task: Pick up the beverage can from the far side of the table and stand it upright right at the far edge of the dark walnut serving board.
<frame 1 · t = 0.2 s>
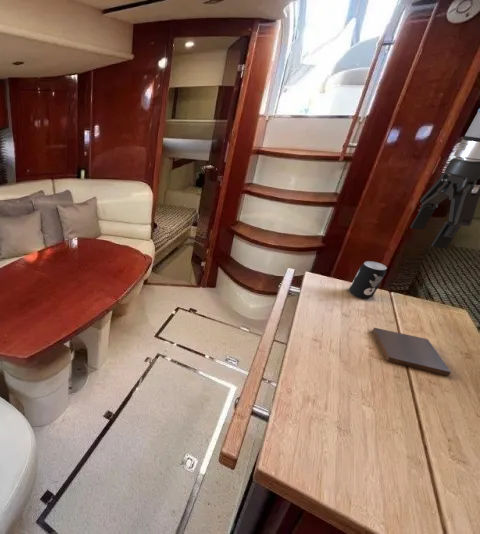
hand: (426, 237, 86), 27 cm above the table, tool pointing down, fingers open, 13 cm apart
walnut board: (406, 351, 84), on the table
beverage can: (359, 294, 108), on the table
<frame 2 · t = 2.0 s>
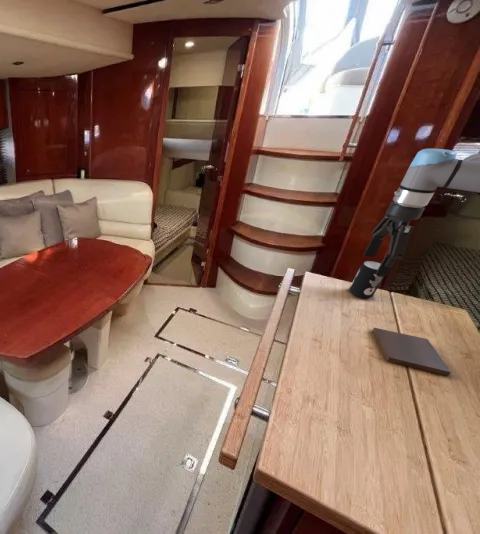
hand: (374, 264, 102), 12 cm above the table, tool pointing down, fingers open, 13 cm apart
nothing on the table moved.
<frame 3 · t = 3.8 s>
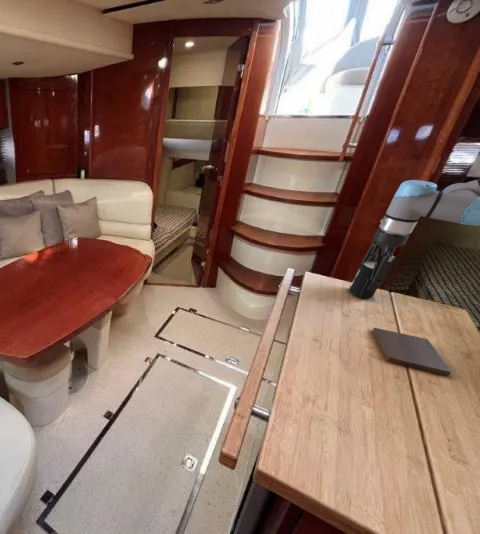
hand: (361, 291, 107), 1 cm above the table, tool pointing down, fingers closed on beverage can, 6 cm apart
beverage can: (359, 294, 108), on the table, touching gripper
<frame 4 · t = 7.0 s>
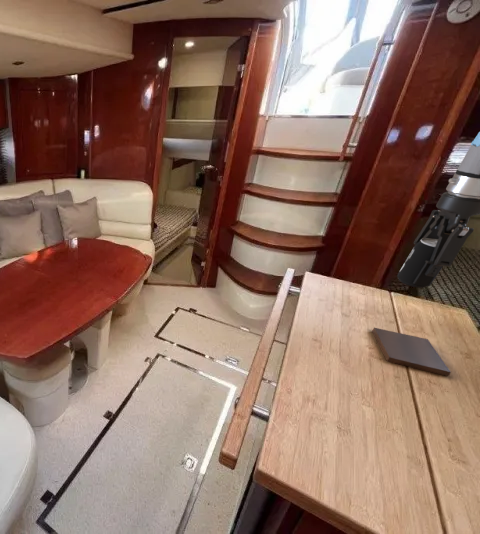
hand: (415, 277, 82), 19 cm above the table, tool pointing down, fingers closed on beverage can, 6 cm apart
beverage can: (411, 282, 83), point 17 cm above the table, touching gripper
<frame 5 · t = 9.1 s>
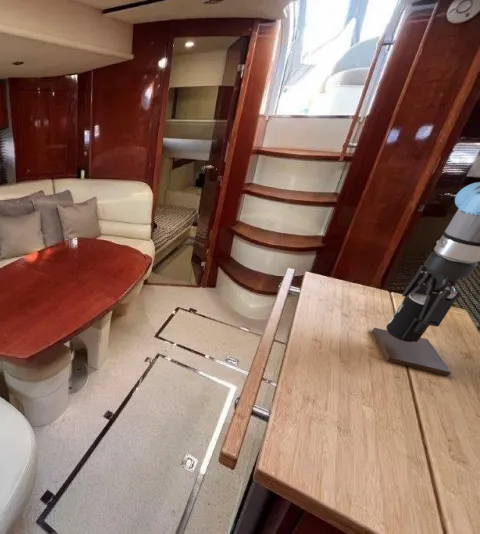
hand: (403, 330, 82), 7 cm above the table, tool pointing down, fingers closed on beverage can, 6 cm apart
beverage can: (400, 335, 83), point 5 cm above the table, touching gripper
when the fingers open (3 cm above the table, at t = 10.4 s): beverage can stays where it is, resting on walnut board.
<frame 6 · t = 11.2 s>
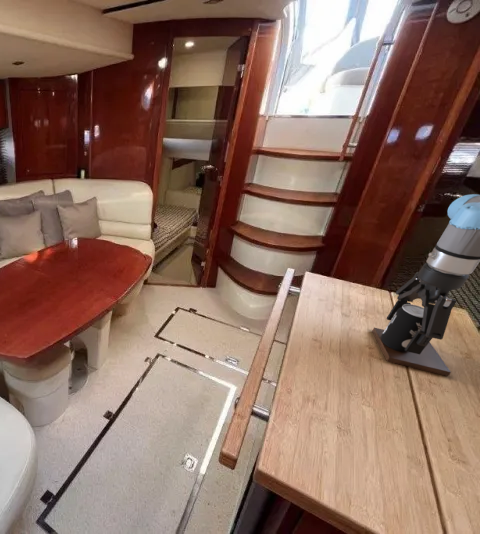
hand: (401, 335, 83), 5 cm above the table, tool pointing down, fingers open, 13 cm apart
beverage can: (394, 345, 85), point 1 cm above the table, touching walnut board
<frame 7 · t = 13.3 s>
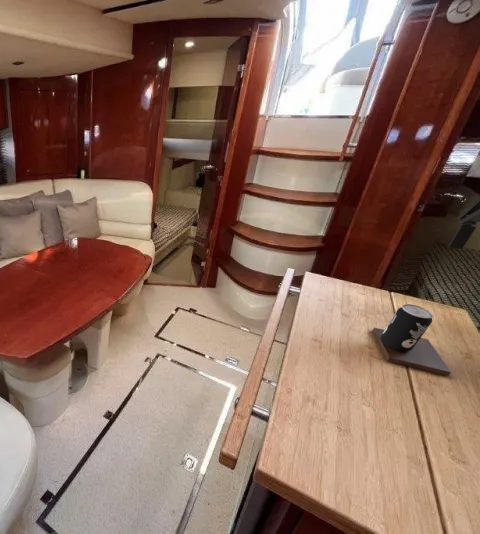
hand: (469, 258, 80), 24 cm above the table, tool pointing down, fingers open, 13 cm apart
nothing on the table moved.
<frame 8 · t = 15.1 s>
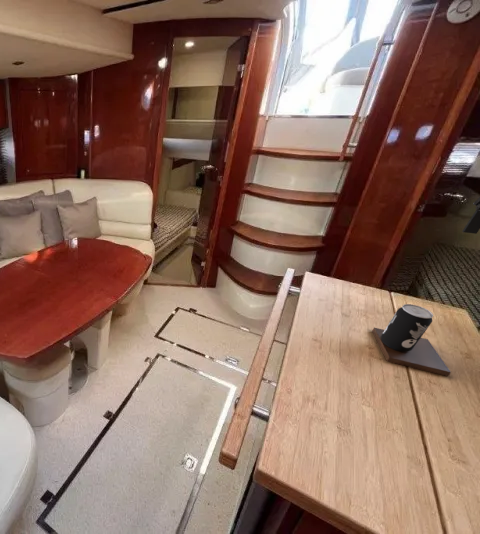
nothing on the table moved.
at the end: beverage can inside the target area on the walnut board (0.6 cm from its centre), point 1.3 cm above the walnut board's base; beverage can tilted 0°; the gripper is holding nothing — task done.
